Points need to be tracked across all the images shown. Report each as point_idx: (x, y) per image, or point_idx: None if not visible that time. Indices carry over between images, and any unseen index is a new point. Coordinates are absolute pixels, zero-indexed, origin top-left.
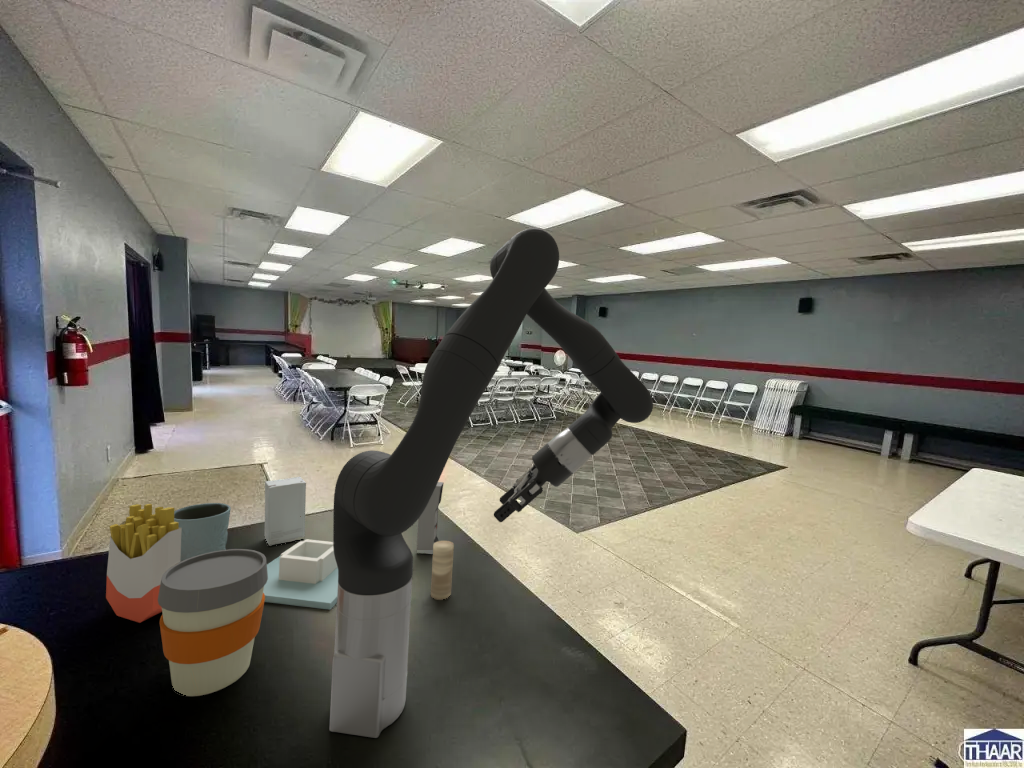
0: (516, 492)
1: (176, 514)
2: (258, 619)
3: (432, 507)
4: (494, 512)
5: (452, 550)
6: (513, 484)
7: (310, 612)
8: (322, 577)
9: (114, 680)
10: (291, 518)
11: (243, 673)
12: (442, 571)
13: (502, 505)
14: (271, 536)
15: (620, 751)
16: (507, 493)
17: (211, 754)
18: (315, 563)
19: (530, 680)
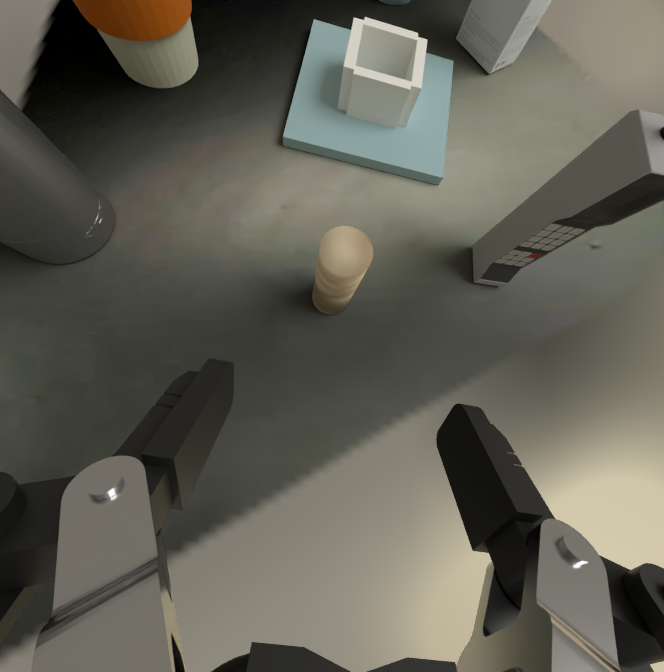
0: (62, 604)
1: None
2: (114, 9)
3: (562, 205)
4: (213, 362)
5: (335, 277)
6: (567, 540)
7: (277, 124)
8: (347, 109)
9: None
10: (503, 2)
11: (150, 85)
12: (315, 276)
13: (184, 410)
14: (467, 18)
15: None
16: (484, 461)
17: (28, 94)
18: (343, 69)
19: (72, 451)
